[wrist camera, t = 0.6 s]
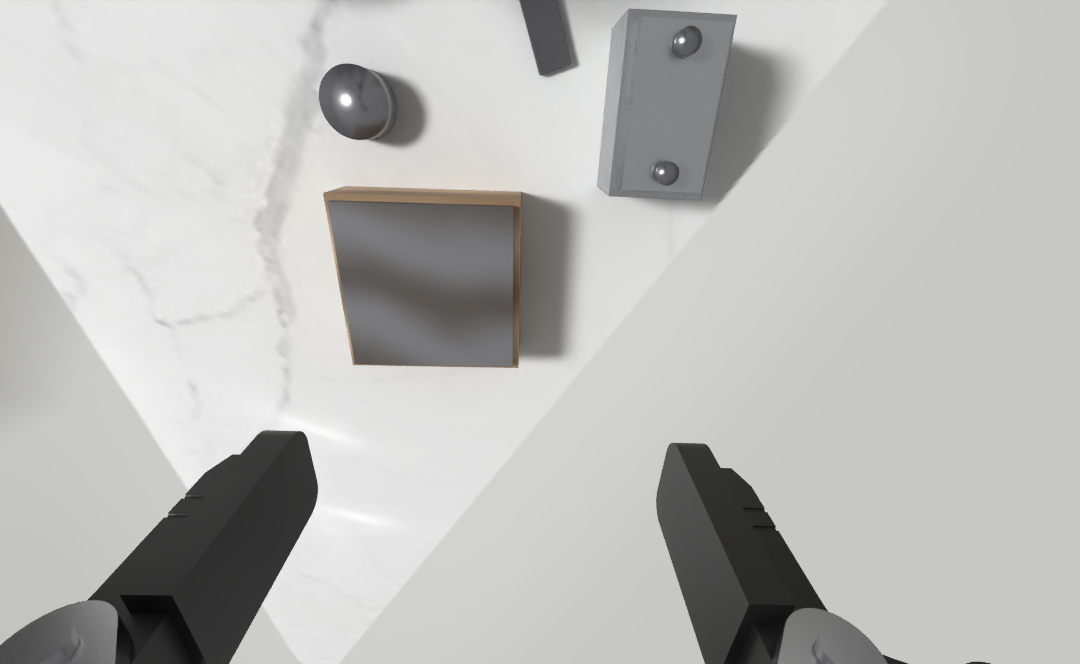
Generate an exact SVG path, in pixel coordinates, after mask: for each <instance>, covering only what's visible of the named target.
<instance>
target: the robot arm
mask: <svg viewBox="0 0 1080 664" xmlns="http://www.w3.org/2000/svg"><path fill="white" fill-rule="evenodd" d="M317 494H318V484H317V479H316V475H315V470H314V466H313V462H312V457H311V453H310V449H309V444H308V440H307V437H306V435H305V434H304V433H303V432H301V431H269V430H266V431H262V432H261V433H259V434H258V435H257V436H256V437H255V438H254V440H253V441H252V442H251V443H250V444H249V445H248V446H247V448H246V449H245V450H244V451H243V452H242V453H241V455H231V456H230V457H228V458H227V459H225V460H224V461H222V462H221V463H219V464H218V465H216V466H215V467H213V468H212V469H210V470H209V471H207V472H206V473H205V474H204V475H203V476H202V477H201V478H200V479H199V480H198V481H197V482H196V483H195V485H194V486H193V487H192V488H191V489H190V490H189V491H188V492H187V493H186V496H185V498H184V499H181V500H180V501H179V502H178V503H177V504H176V505H175V506H174V507H173V508H172V510H171V511H170V512H169V515H168V517H167V518H163V520H161V521H160V522H159V524H158V525H157V526H156V527H155V528H154V529H153V530H152V531H151V532H150V533H149V534H148V536H147V537H146V538H145V539H144V540H143V541H142V542H141V543H140V544H139V545H138V546H137V547H136V549H135V550H134V551H133V552H132V553H131V554H130V555H129V556H128V557H127V558H126V559H125V560H124V562H123V563H122V564H121V565H120V566H119V567H118V568H117V569H116V570H115V571H114V572H113V573H112V575H111V576H110V577H109V578H108V579H107V580H106V581H105V582H104V583H103V584H102V585H101V587H100V588H99V589H98V590H97V591H96V592H95V593H94V594H93V595H92V596H91V597H90V598H89V599H88V600H87V601H82V602H77V603H74V604H70V605H67V606H64V607H61V608H59V609H56V610H54V611H52V612H50V613H48V614H45V615H43V616H42V617H40V618H38V619H36V620H35V621H33V622H31V623H29V624H28V625H26V626H25V627H23V628H22V629H20V630H19V631H17V632H16V633H15V634H14V635H12V636H11V637H10V638H8V639H7V640H6V641H5V642H4V643H3V644H1V645H0V664H229V662H230V661H231V659H232V657H233V655H234V654H235V652H236V650H237V648H238V646H239V644H240V643H241V641H242V639H243V637H244V635H245V634H246V632H247V630H248V628H249V626H250V625H251V623H252V621H253V619H254V617H255V616H256V614H257V612H258V610H259V608H260V607H261V605H262V603H263V601H264V599H265V598H266V596H267V594H268V592H269V590H270V589H271V587H272V585H273V583H274V581H275V579H276V578H277V576H278V574H279V572H280V570H281V569H282V567H283V565H284V563H285V561H286V560H287V558H288V556H289V554H290V552H291V551H292V549H293V547H294V545H295V543H296V542H297V540H298V538H299V536H300V534H301V533H302V531H303V529H304V527H305V525H306V524H307V522H308V520H309V518H310V516H311V514H312V512H313V510H314V507H315V504H316V500H317ZM656 503H657V515H658V520H659V523H660V526H661V529H662V532H663V536H664V539H665V542H666V545H667V548H668V551H669V554H670V557H671V560H672V563H673V566H674V569H675V572H676V576H677V578H678V581H679V585H680V588H681V591H682V594H683V597H684V600H685V603H686V606H687V610H688V613H689V616H690V619H691V622H692V625H693V628H694V631H695V634H696V637H697V640H698V643H699V646H700V650H701V653H702V656H703V659H704V661H705V664H907V663H904V662H901V661H898V660H895V659H892V658H890V657H887V656H885V655H882V654H881V652H880V651H879V650H878V649H877V647H876V646H875V645H874V644H873V643H872V642H871V641H870V640H869V638H868V637H867V636H865V635H864V634H863V633H862V632H861V631H860V630H859V629H857V628H856V627H855V626H853V625H852V624H851V623H849V622H848V621H846V620H844V619H842V618H841V617H839V616H837V615H835V614H833V613H830V612H828V611H827V609H826V608H825V606H824V605H823V603H822V602H821V600H820V598H819V597H818V595H817V593H816V592H815V590H814V589H813V587H812V585H811V584H810V582H809V580H808V579H807V577H806V575H805V574H804V572H803V571H802V569H801V567H800V566H799V564H798V562H797V561H796V559H795V557H794V556H793V554H792V552H791V551H790V549H789V548H788V546H787V544H786V543H785V541H784V539H783V538H782V536H781V534H780V533H779V531H776V529H775V527H776V526H775V525H774V523H773V521H772V520H771V518H770V516H769V515H768V513H767V512H765V511H764V506H763V505H762V503H761V502H760V501H759V498H758V497H757V495H756V493H755V492H754V490H753V489H752V487H751V486H750V485H749V484H748V483H747V482H746V481H745V480H743V479H742V478H741V477H740V476H739V475H738V474H737V473H736V472H734V471H733V470H732V469H731V468H720V466H719V464H718V463H717V461H716V459H715V457H714V455H713V454H712V452H711V450H710V448H709V447H708V446H707V445H706V444H695V443H671V444H670V445H669V446H668V449H667V452H666V457H665V461H664V465H663V469H662V474H661V478H660V482H659V487H658V491H657V499H656ZM967 664H990V663H985V662H970V663H967Z"/></svg>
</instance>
